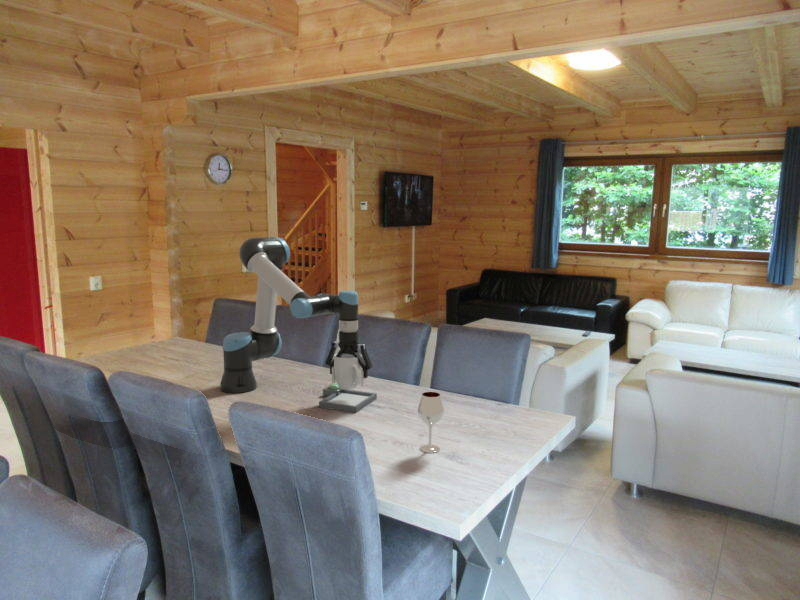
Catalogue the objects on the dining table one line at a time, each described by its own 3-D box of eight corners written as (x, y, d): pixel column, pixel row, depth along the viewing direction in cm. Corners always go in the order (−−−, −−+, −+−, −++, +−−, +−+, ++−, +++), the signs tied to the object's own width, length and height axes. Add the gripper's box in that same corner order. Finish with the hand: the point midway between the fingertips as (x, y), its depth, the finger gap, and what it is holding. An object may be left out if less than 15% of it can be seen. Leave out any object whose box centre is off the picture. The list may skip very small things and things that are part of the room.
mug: (371, 391, 227) (371, 358, 225) (346, 395, 221) (346, 361, 219) (353, 382, 239) (353, 350, 237) (329, 385, 233) (329, 353, 232)
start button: (327, 391, 241) (327, 385, 240) (332, 388, 244) (332, 383, 244) (336, 392, 239) (336, 387, 239) (341, 389, 243) (341, 384, 242)
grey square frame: (322, 396, 240) (322, 389, 240) (331, 391, 246) (331, 384, 246) (338, 398, 237) (338, 391, 237) (345, 393, 244) (345, 386, 243)
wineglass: (415, 444, 190) (416, 390, 187) (440, 444, 190) (441, 390, 188) (418, 454, 182) (419, 398, 179) (444, 453, 182) (446, 398, 180)
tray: (319, 407, 226) (318, 401, 226) (341, 393, 243) (341, 388, 243) (356, 412, 220) (356, 407, 220) (376, 398, 238) (376, 393, 237)
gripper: (316, 329, 229) (317, 383, 232) (373, 334, 220) (372, 390, 223) (325, 326, 236) (326, 378, 239) (380, 331, 227) (380, 385, 230)
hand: (348, 384), depth 231 cm, fingers closed on mug, 12 cm apart
